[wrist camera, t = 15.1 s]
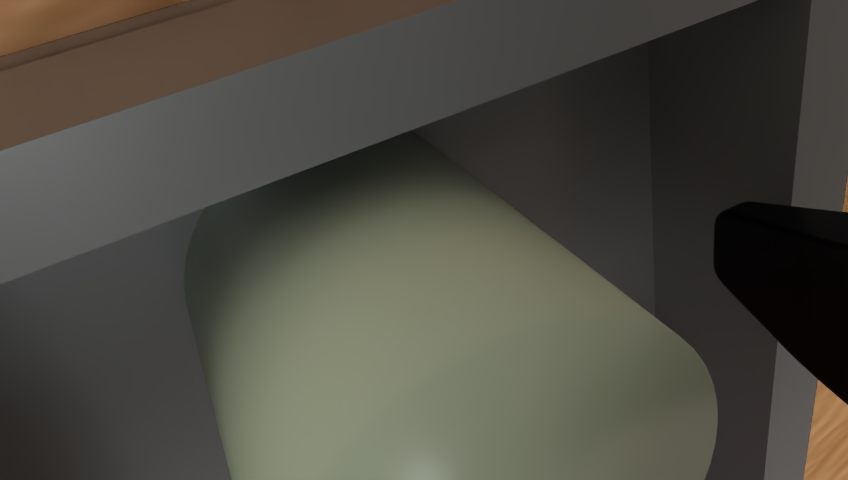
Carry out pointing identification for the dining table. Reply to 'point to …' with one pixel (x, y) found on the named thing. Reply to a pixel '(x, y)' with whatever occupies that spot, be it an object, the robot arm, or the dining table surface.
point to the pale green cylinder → (428, 337)
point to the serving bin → (372, 123)
